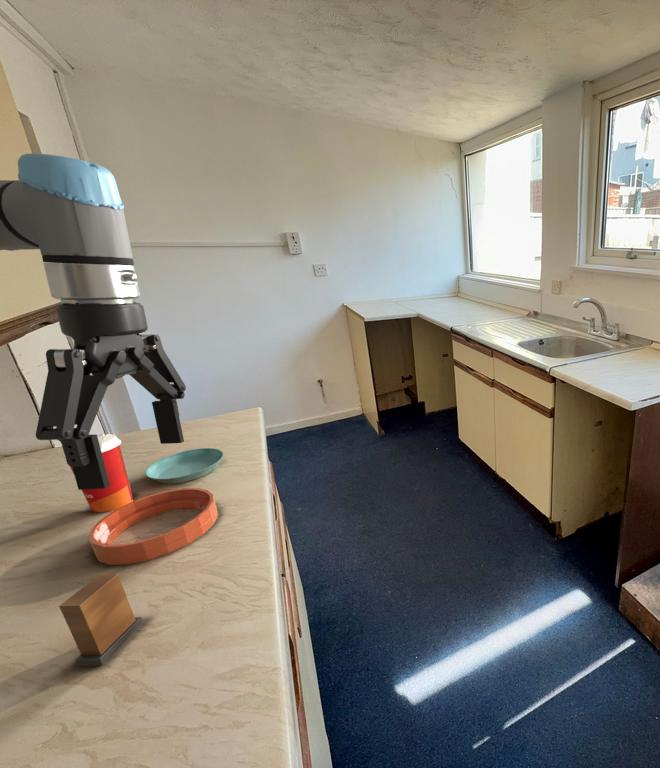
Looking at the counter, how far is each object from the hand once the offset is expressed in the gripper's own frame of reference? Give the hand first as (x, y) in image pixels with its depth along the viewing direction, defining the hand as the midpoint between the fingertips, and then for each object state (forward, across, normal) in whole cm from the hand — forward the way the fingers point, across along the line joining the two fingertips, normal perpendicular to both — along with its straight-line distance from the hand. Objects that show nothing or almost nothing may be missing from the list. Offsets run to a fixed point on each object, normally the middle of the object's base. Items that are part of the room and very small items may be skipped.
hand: (138, 462), depth 53 cm
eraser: (+24, -6, +3) cm, 25 cm away
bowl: (+23, +18, +12) cm, 31 cm away
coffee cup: (+23, +29, +28) cm, 46 cm away
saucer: (+22, +42, +22) cm, 52 cm away
